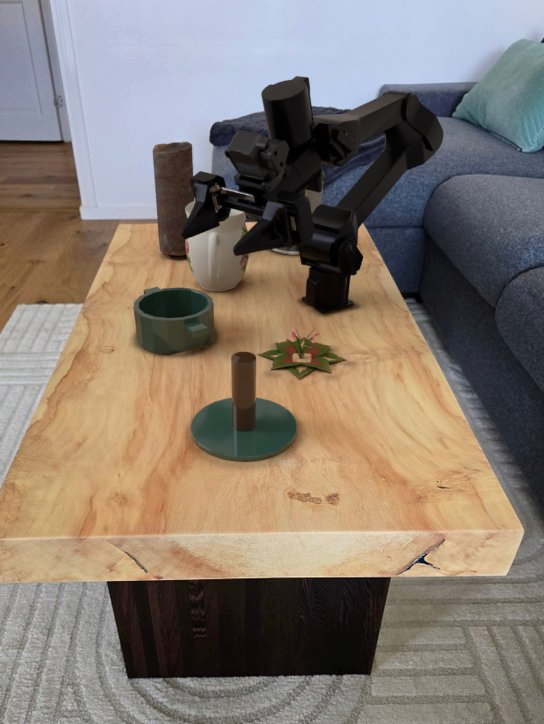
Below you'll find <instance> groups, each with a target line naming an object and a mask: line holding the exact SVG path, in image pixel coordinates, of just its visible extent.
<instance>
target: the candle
mask: <svg viewBox="0 0 544 724" xmlns="http://www.w3.org/2000/svg"><path fill="white" fill-rule="evenodd" d="M193 157H194V156H193V144H192V143H191V142H190V141H181V142H180V141H176V142H174V141H173V142H169V143H165V142H164V143H158V144H155V145H154V146H153V149H152V161H153V176H154V178H153V179H154V189H155V190H154V191H155V204H156V217H157V233H158V234H157V235H158V236H157V237H158V247H159V251H160V252H161V254H163V255H164V256H172V257H177V256H180V257H181V256H187V255H186V246H185V240H186V239H183V238H182V235H181V230H182V228H183V226H184V224H185V223H186V221H187V219H188V218H187V214H186V210H185V208H186V206H187V205H188V204H189V203H191V202H193V201H195V198H194V195H193V192H192V188H191V185H190V182H189V181H190V179H191V178H192V177H193V176H194V163H193Z"/></svg>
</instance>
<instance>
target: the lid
mask: <svg viewBox="0 0 544 724" xmlns="http://www.w3.org/2000/svg"><path fill="white" fill-rule="evenodd" d="M230 382H231V383H230V384H231V389H230V390H231V391H230V392H231V397H227V398H223V399H220V400H216V401H214V402H211V403H209V404H207V405H205V406H204V407H202V408H201V409H200V410H198V412H196V414H195V415H194V416H193V417H192V420H191V423H190V435H191V438H192V440H193V441H194V443H195V444H196V446H198V448H200V450H202V451H204V452H205V453H207V454H209V455H211V456H214V457H215V458H219V459H223V460H228V461H234V462H253V461H260V460H261V461H262V460H265V459H268V458H271V457H274V456H277V455H279V454H280V453H283V452H284V451H285V450H287V449H288V448H290V446H291V445H292V444H293V443H294V441H295V440H296V437H297V433H298V423H297V420H296V418H295V416H294V415H293V414H292V413H291V411H290V410H289V409H287V408H286V407H285V406H283V405H281V404H280V403H277V402H275V401H272V400H269V399H265V398H260V397H257V355H256V354H255V353H254V352H253V353H252V352H251V351H238V352H234V353H233V354H231V357H230Z"/></svg>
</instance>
